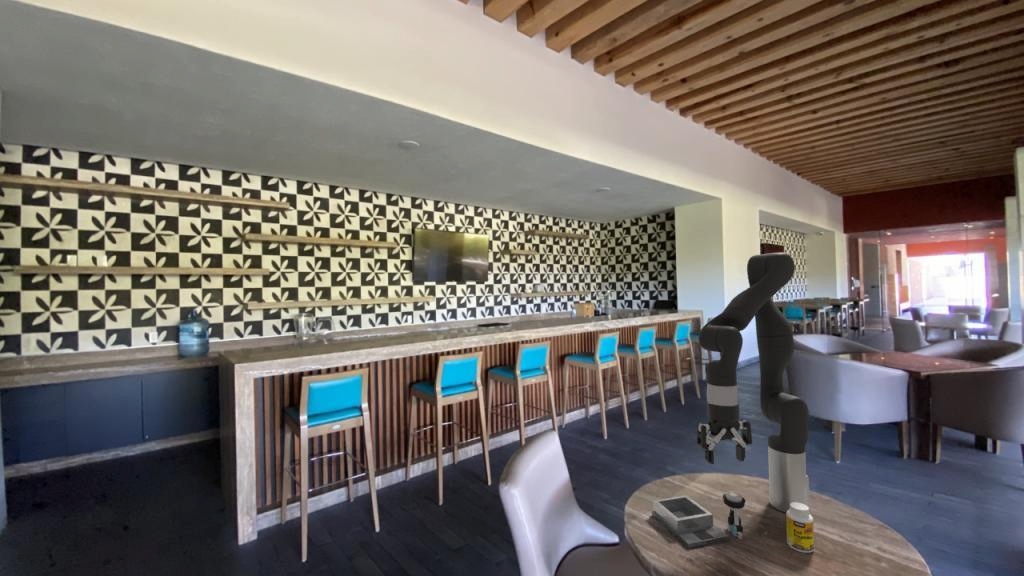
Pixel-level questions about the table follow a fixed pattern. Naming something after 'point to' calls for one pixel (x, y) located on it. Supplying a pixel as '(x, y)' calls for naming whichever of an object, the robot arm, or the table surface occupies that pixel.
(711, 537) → the gray open box
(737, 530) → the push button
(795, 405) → the robot arm
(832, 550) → the table surface
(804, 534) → the supplement bottle
